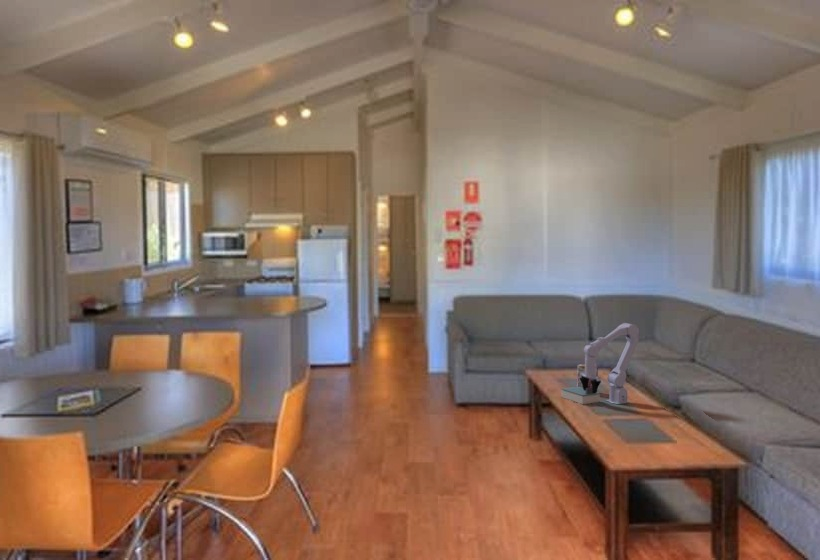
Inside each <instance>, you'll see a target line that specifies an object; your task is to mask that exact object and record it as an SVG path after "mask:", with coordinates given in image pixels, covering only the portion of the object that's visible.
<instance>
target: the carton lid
mask: <svg viewBox="0 0 820 560" xmlns="http://www.w3.org/2000/svg"><path fill="white" fill-rule="evenodd" d="M562 390H565V391H568V392H571V393H574V394H577V395H580V396H588V395H595V394H600V395H601V393H600V392H599V391H597V393H593V392H592V388H586V391H584V389H583V388H582V387H579V386H577V385H576V386H571V387H563V388H561V391H562Z"/></svg>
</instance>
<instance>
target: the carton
mask: <svg viewBox="0 0 820 560" xmlns="http://www.w3.org/2000/svg"><path fill="white" fill-rule="evenodd" d="M563 398H565V399H564V400H566V399H568V400H567V401H569V400H571V401H570V402H572V401H574V402H573V403H575V402H577V403H576V404H578V403H580V404H579V405H581V404H582V405H581V406H584V405H583V404H585V405H590V404H591V403H592V404H599V403H600V402H601V401H600V400H601V393H600V394H595V395H588V396H580V395H577V394H574V393H571V392H568V391H565V390H562V389H561V399H563ZM592 404H591V405H592Z"/></svg>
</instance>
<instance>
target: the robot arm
mask: <svg viewBox="0 0 820 560" xmlns="http://www.w3.org/2000/svg"><path fill="white" fill-rule="evenodd" d="M639 333H640V330H639V328H638V326H637V325H636V324H632V323H628V322H622V323H621V324H619V325H618V326H617V327H616V328H615V329H613V330H612V331H611V332H610V333H609V334H607V335H606V336H605V337H603V336H601V337H597V338H596V340H595V341H593V342H590V344H587V345H585V346H584V348H583V349H582V353H583V354H584V365H585V373H580V376H581V378H580V380H581V383H582V385H583V389H584V391H586V388H588V382H589V379H593V380H592V381H591V384H592V392H593V393H597V392H598V388H599V386H600V384H601V383H602V381H601V379H602V378H601V376H596V365H597V360H596V357H597V356H598V353H599V352H600V351H602V350H603V349H605V348H606V347H608V345H609V343H610V342H611V341H613V340H615V339H616V338H618V337H620V336H624V337H625V339H626V344H625V346H624V348H623V351H622V353H621V355H620V358H619V360H618V361H617V365H616V366H615V367H614V368H613V369H612V370H611V372H609V373H608V375H607V377H606V379H607V382H608V383H609V394H608V397H609V399H605V401H606V402H608V403H612V404H615V405H623V404H629V401H628V390H627V388H625V387H624V385H625V384H626V379H627V372H626V371H627V369H628V366H629V364H630V362H631V359H632V357H633V355H634V352H635V351H636V348H637V347H638V344H639Z"/></svg>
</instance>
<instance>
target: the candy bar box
mask: <svg viewBox="0 0 820 560" xmlns="http://www.w3.org/2000/svg"><path fill="white" fill-rule="evenodd" d="M598 369H599V366H598V365H597V364H596V376H598V374H599V372H598V371H599V370H598ZM580 373H585V364H580V363H579V364H577V376H576V377H577V381H576V387H577V386H579V387H582V388H583V385H582V383H581V380H580V378H581V376H580ZM598 377H599V376H598ZM592 380H593V379H589V382H588V388H592V384H591V381H592Z"/></svg>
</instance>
